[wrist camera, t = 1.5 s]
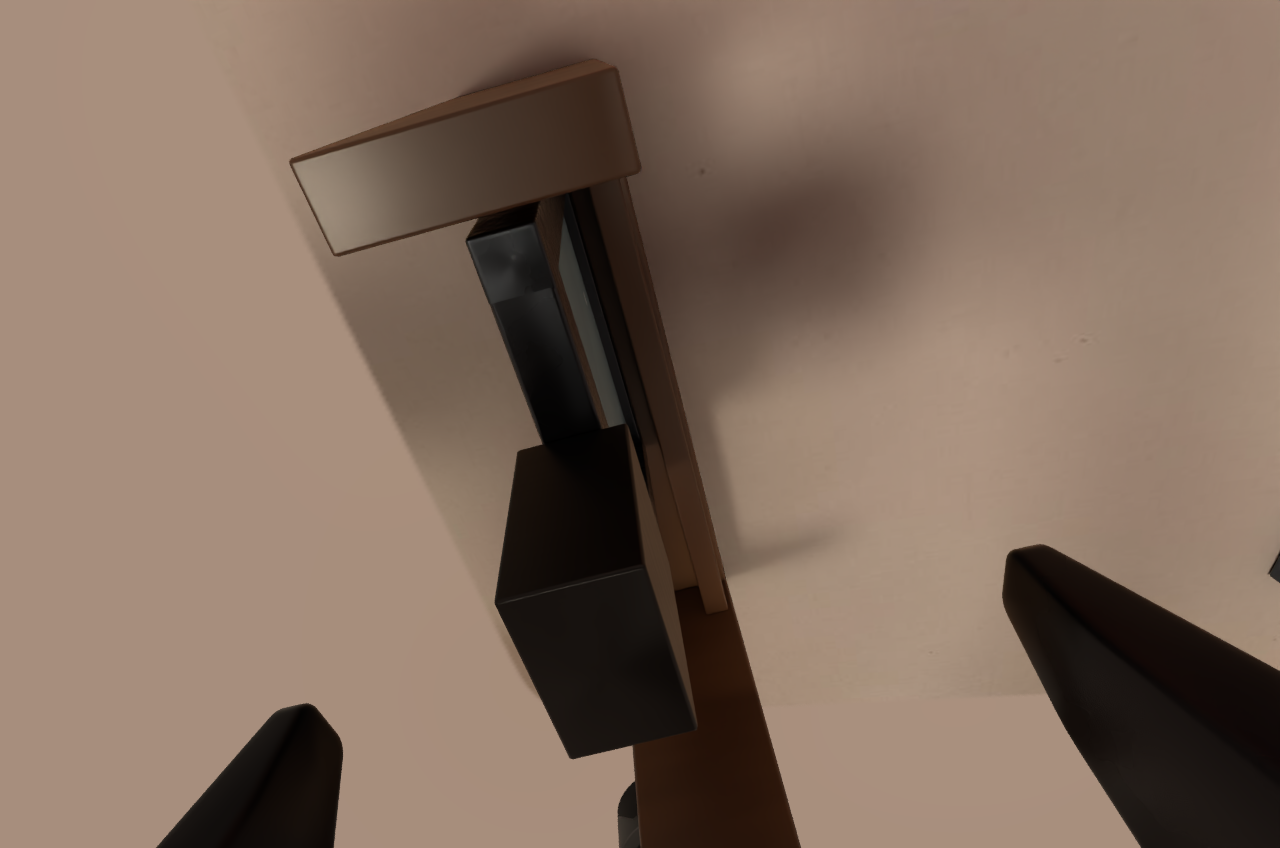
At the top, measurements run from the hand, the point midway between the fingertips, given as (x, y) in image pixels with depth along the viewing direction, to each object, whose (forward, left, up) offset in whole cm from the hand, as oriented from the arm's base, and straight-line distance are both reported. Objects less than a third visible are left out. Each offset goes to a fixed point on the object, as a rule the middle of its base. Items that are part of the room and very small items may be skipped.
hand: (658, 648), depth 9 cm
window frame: (-3, -1, -14) cm, 14 cm away
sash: (0, +1, -13) cm, 13 cm away
